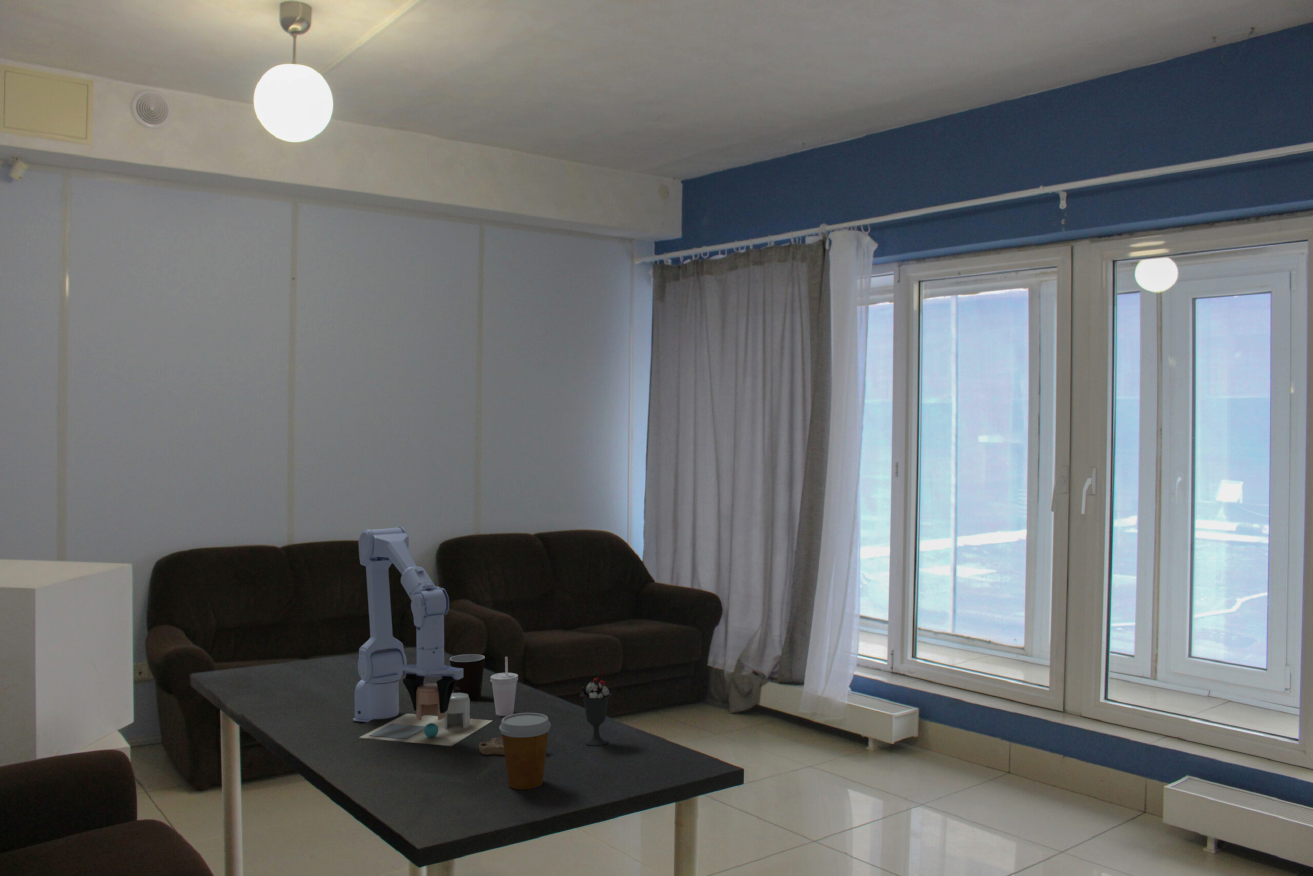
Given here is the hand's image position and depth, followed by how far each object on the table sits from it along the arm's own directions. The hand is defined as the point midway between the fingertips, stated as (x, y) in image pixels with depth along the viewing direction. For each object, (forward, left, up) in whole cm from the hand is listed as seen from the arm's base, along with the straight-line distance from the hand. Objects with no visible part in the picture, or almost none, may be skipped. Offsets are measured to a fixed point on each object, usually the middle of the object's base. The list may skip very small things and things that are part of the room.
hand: (430, 710), depth 208 cm
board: (-4, +5, -7) cm, 9 cm away
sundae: (+34, +9, -7) cm, 36 cm away
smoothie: (+7, +21, -7) cm, 23 cm away
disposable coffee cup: (+30, -18, -7) cm, 36 cm away
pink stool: (0, 0, -1) cm, 1 cm away
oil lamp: (+20, -3, -7) cm, 21 cm away
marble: (0, 0, -4) cm, 4 cm away
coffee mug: (-10, +36, -7) cm, 38 cm away
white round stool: (+1, +9, -6) cm, 11 cm away
